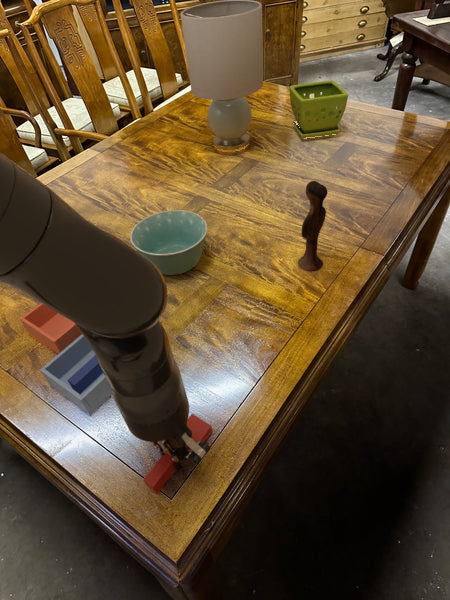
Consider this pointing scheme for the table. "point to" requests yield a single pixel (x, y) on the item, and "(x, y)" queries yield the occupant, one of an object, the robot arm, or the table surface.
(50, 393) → the table surface
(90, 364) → the blue bar
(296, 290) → the table surface
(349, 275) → the table surface
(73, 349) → the blue bin
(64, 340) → the red bin
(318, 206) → the figurine
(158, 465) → the red stepped block
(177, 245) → the bowl
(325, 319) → the table surface
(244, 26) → the lamp
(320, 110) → the flower pot
